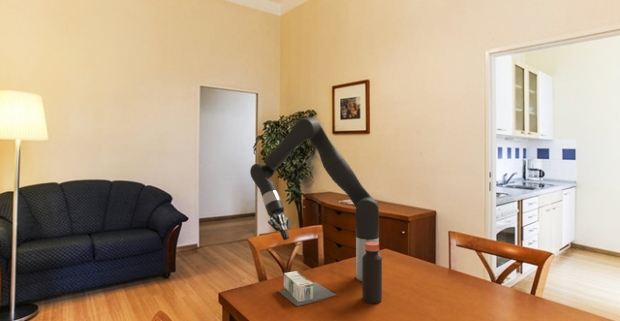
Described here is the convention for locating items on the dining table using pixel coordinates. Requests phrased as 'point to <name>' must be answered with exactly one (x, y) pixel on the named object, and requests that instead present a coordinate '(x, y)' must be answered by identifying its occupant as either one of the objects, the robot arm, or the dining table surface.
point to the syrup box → (298, 286)
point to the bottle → (372, 273)
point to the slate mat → (318, 294)
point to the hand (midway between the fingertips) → (286, 239)
